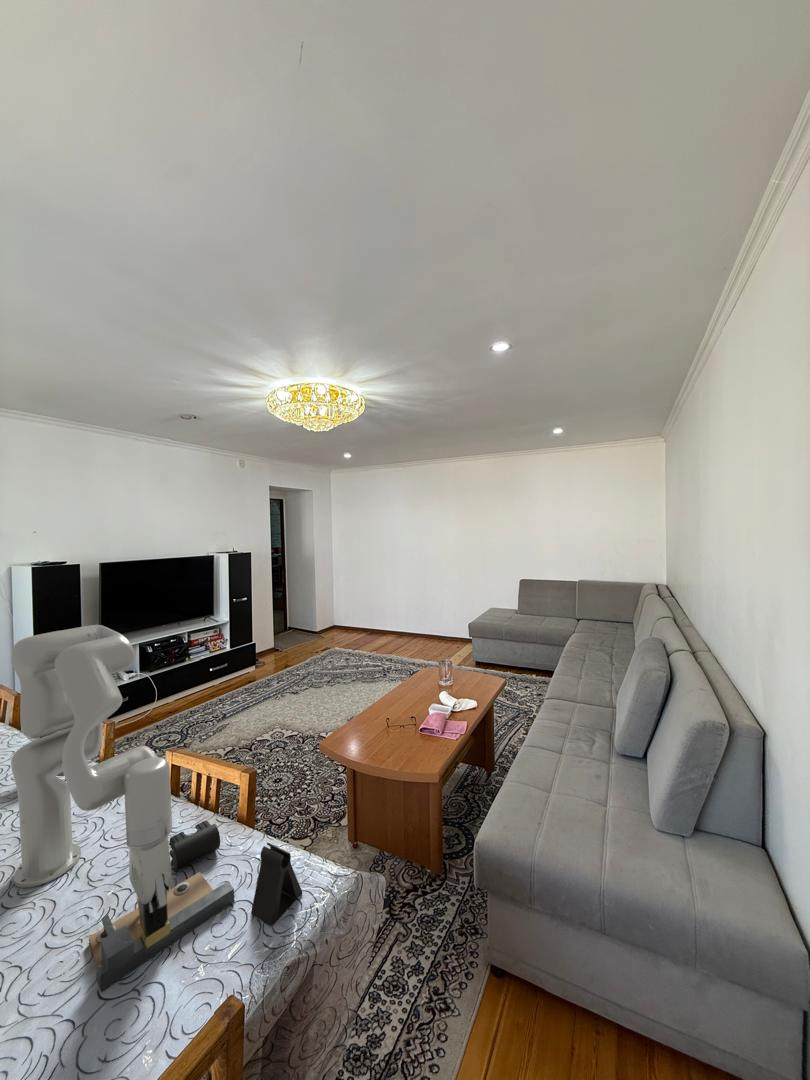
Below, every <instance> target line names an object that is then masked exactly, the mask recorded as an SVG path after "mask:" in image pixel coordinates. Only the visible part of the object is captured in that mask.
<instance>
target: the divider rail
mask: <svg viewBox="0 0 810 1080" xmlns="http://www.w3.org/2000/svg"><path fill="white" fill-rule="evenodd" d="M234 903H235V888H234V887H233V886H232V884H231V883H230V881H226V882H224V883H223V884H221V885H219V886H218V887H216V888H215V889H213V891H211V892H210V893H208V894H207V895H205V896H204V897H202V898H200V899H199V900H197V901H196V902H194V903H192V904H191V905H189V906H188V907H186V908H185V909H183V910H181V911H180V912H178V913H177V914H175V915H173V916H172V917H170V918H169V919H168V921H169V923H170V933H169V934H168V935H166V936H165V937H163V938H162V939H160V940H159V941H157V942H156V943H154V944H153V945H151V946H150V947H148V948H146V946H145V944H144V942H143V940H142V938H141V936H140V937H139V938H137V939H135V940H134V941H133V939H132V937H131V935H130V933H129V930H128V928H127V926H124V927H122V928H121V929H119V930H117V931H116V932H115V930H114V928H113V926H112V923H113V922H112V920H111V918H110V916H109V914H106V915H105V916H103V917H102V918H101V923H102V926H103V928H104V933H106V934H107V937H106V938H104V939H102V940H101V956H102V959H103V960H102V961H101V962H99V963H97V964H95V967H96V970H95V971H96V982H97V985H98V988H99V992H100V993H102V992H104V991H105V990H107V989H108V988H110V987H111V986H112V985H115V983H118V982H119V981H120V980H121V979H123V978H124V977H126V976H128V975H129V974H131V973H132V972H133V971H135V970H136V969H138V968H139V967H141V966H142V965H144V964H145V963H147V962H148V961H150V960H151V959H153V958H154V957H156V956H157V955H159V954H160V953H162V952H163V951H165V950H166V949H167V948H169V947H171V946H172V945H174V944H175V943H176V942H178V941H179V940H181V939H183V938H184V937H185V936H187V935H188V934H190V933H191V932H193V931H194V930H195V929H197V928H198V927H200V926H202V925H203V924H204V923H206V922H207V921H209V920H211V919H212V918H213V917H215V916H217V915H218V914H219V913H221V912H223V911H224V910H225V909H227V908H228V907H230V906H232V905H233V904H234Z"/></svg>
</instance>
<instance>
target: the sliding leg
mask: <svg viewBox="0 0 810 1080" xmlns="http://www.w3.org/2000/svg"><path fill="white" fill-rule="evenodd" d="M165 894H166V899H167V890H166V888H165ZM156 900H157V896H156V897H154V898H153V899H152V903H153V902H154V901H156ZM136 903H137V906H138V907H137V908H138V911H139V919H140V921H138V927H139V933H140V936H141V938H142V940H143V942H144V944H145V946H146V948H148V947H150V946H151V945H153V944H154V943H156V942H157V941H159V940H160V939H162V938H163V937H165V936H166V935H168V934H169V933H170V923H169V921H168V912H167V905H166V918H167V921H166V923H165V924H163V925H162V926H160V927H158V928H157V929H155V930H154V931H152V932H151V933H148V932H147V919H146V911H148V903H147V904H142V903H141V902H140V900H139V898H138V897H136Z"/></svg>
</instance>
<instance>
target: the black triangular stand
mask: <svg viewBox="0 0 810 1080" xmlns="http://www.w3.org/2000/svg"><path fill="white" fill-rule="evenodd" d="M267 846H269V847H267ZM267 846H265V845H264V846H262V849H261V851H260V867H259V871H258V877H257V882H256V888H255V891H254V896H253V901H252V907H251V911H250V914H251V915H252V916H254V917H255V918H256V919H258V920H260V921H262V922H263V923H265V924H266V925H268V926H270V927H271V928H272V927H273V926H274V925H275V924H276V923H277V922H278V921H279V920H280V919H281V917H283V915H284V914H286V912H287V911H288V910H289V909H290V908H291V907H292V906H293V905H294V904H295V903H296V901H298V900H299V898H300V897H301V896H302V895H303V890H302V887H301V885H300V884H299V883H300V882H299V880H298V877H297V875H296V873H295V871H294V868H293V866H292V863H291V861H292V860H291V859H292V855H291V853H290V852H289V851H286V850H284V848H283V849H282V848H280V847H278V846H276V845H274V844H272V843H270V842H268V843H267Z"/></svg>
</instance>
